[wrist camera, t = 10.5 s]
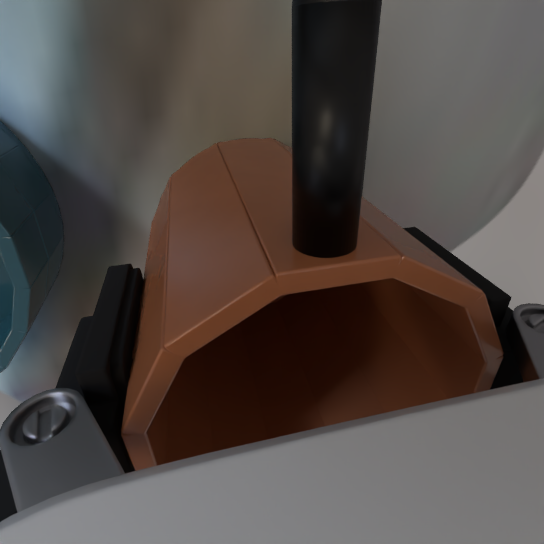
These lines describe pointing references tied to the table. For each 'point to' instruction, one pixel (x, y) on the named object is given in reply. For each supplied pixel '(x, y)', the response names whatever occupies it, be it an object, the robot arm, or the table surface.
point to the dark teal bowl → (24, 242)
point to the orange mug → (295, 277)
